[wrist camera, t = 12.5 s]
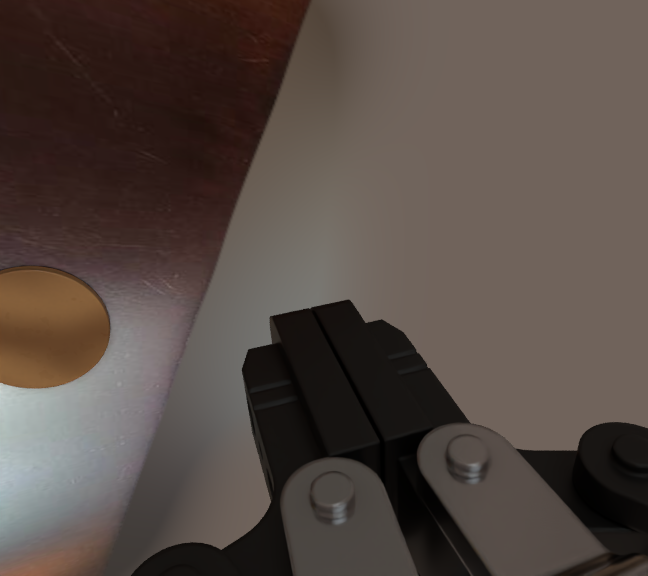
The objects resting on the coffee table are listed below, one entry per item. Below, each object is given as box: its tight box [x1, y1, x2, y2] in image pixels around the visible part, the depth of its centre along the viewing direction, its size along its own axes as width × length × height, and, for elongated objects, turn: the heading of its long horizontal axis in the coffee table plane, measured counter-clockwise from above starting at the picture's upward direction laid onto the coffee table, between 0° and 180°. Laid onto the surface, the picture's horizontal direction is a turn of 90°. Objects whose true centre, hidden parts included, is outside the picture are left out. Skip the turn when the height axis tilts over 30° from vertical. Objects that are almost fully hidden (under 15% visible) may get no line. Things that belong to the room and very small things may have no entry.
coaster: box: [0, 266, 110, 388], centre depth 38 cm, size 9×9×1 cm
